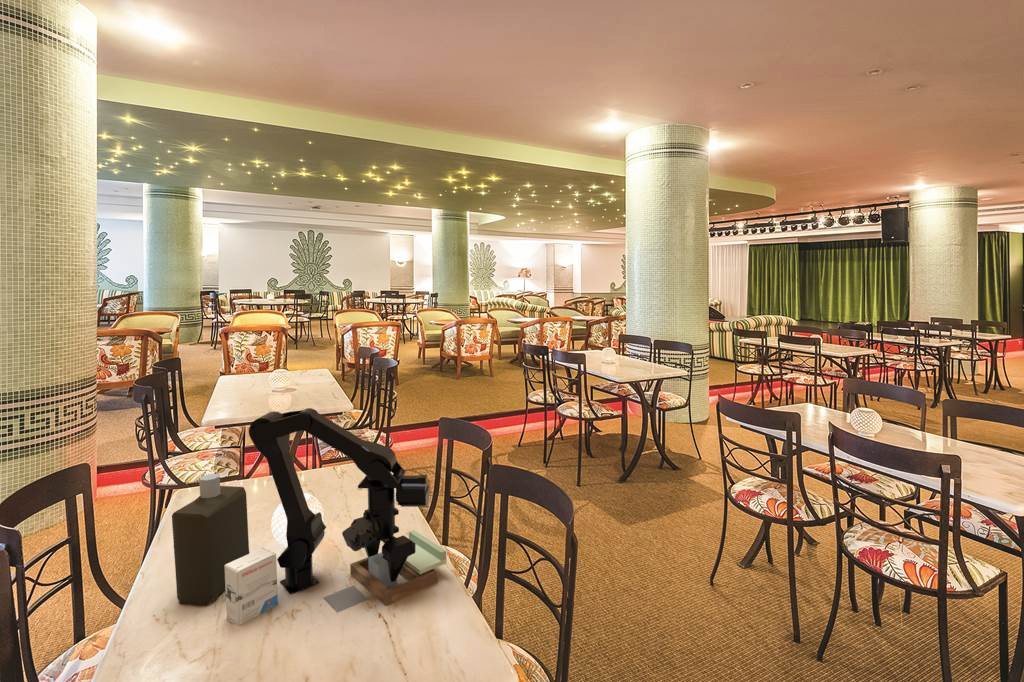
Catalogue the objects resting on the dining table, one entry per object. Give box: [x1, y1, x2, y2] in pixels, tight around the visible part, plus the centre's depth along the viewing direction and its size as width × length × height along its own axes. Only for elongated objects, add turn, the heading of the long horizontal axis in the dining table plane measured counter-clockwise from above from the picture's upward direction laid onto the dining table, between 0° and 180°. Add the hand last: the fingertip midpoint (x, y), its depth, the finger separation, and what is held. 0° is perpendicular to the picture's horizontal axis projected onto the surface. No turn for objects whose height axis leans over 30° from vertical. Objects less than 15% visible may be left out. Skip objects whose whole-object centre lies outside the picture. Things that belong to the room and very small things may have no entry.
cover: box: [405, 529, 447, 574], centre depth 126 cm, size 14×7×3 cm, turn 43°
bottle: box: [171, 473, 250, 607], centre depth 119 cm, size 8×16×25 cm, turn 174°
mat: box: [322, 585, 369, 613], centre depth 115 cm, size 7×7×1 cm
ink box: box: [224, 547, 279, 626], centre depth 110 cm, size 9×5×12 cm, turn 147°
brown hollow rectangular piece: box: [349, 551, 438, 606], centre depth 123 cm, size 16×13×3 cm
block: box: [367, 552, 398, 589], centre depth 121 cm, size 4×4×6 cm
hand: (382, 572), depth 121 cm, fingers open, 9 cm apart
